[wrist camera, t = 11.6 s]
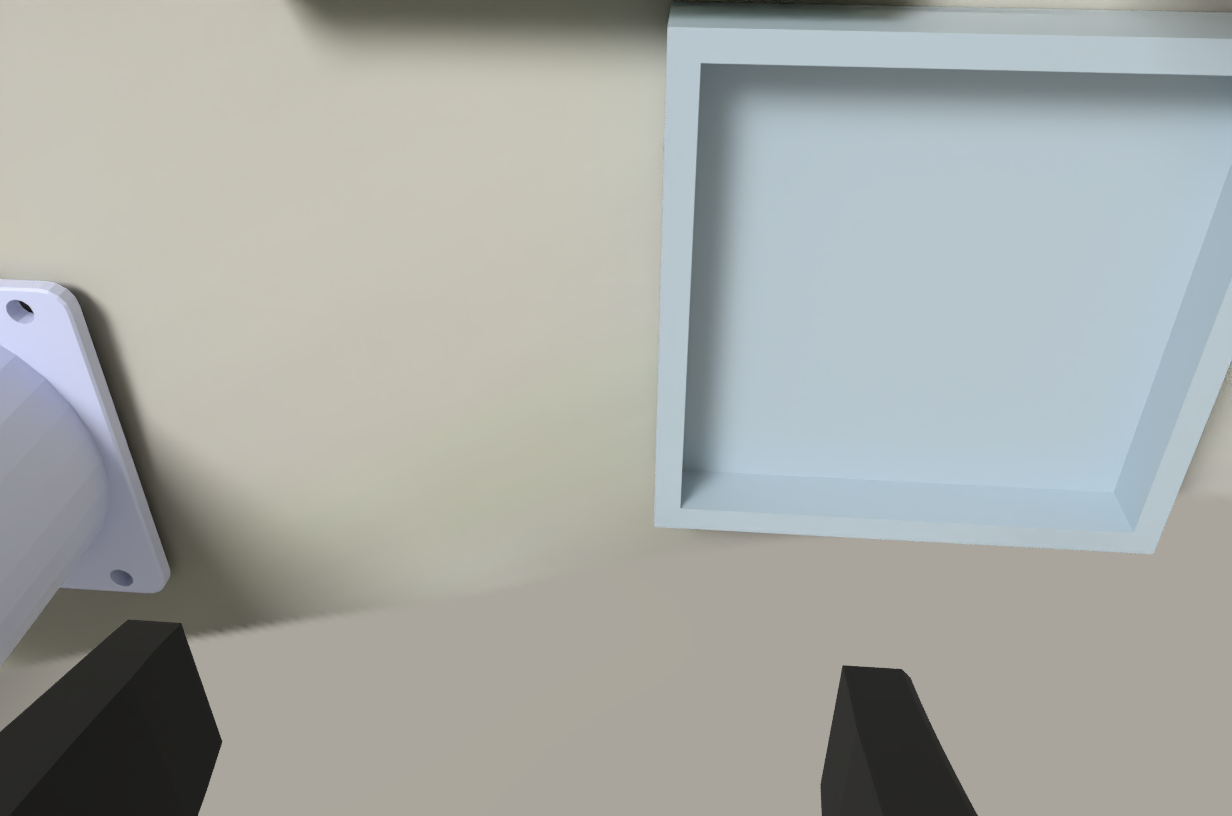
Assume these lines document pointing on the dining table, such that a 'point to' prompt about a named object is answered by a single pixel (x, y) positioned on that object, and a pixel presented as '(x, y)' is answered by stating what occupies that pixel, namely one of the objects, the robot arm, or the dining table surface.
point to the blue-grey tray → (941, 270)
